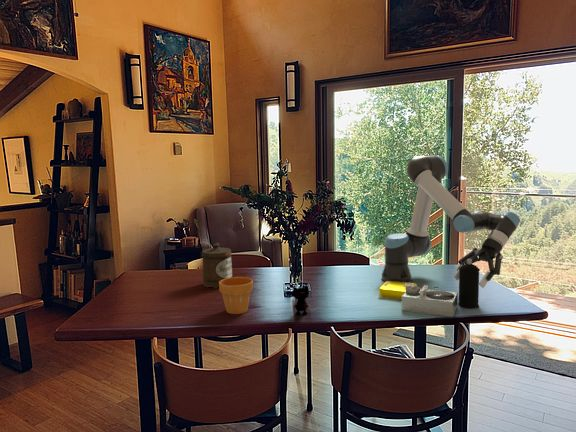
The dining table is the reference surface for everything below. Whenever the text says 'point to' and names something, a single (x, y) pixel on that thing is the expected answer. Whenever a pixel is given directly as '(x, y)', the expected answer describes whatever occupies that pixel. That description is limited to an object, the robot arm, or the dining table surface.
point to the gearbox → (429, 301)
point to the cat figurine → (301, 300)
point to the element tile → (394, 289)
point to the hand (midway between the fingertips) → (467, 282)
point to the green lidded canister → (216, 265)
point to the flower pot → (236, 293)
